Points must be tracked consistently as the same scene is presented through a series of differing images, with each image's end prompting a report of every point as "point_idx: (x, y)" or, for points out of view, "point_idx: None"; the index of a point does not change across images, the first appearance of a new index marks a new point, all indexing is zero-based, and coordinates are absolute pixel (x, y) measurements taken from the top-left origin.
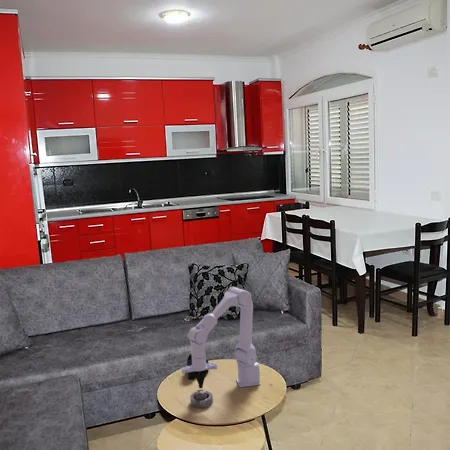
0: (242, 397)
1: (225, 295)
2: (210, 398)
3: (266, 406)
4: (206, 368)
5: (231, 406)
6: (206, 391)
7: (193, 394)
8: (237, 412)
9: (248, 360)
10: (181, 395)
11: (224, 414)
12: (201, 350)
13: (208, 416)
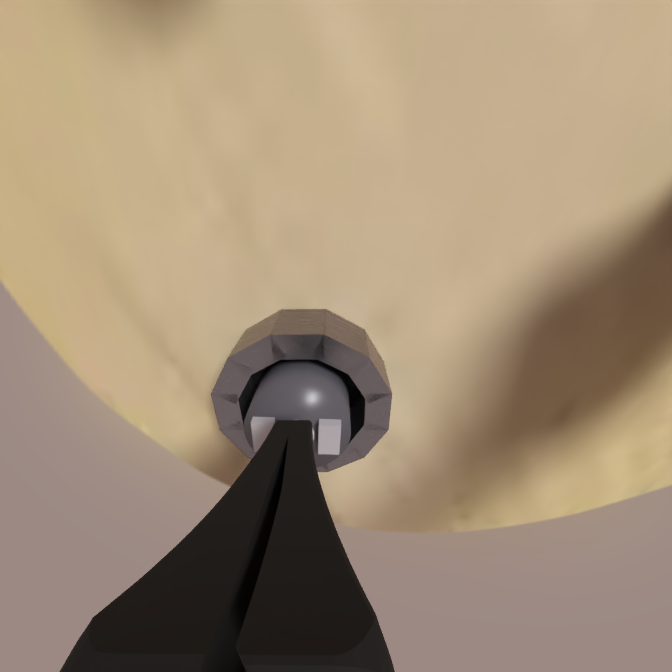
0: (591, 382)
1: None
2: (365, 454)
3: (643, 486)
4: None
5: (474, 450)
6: (348, 428)
7: (237, 376)
8: (478, 496)
9: None
10: (139, 229)
11: (410, 497)
12: None
13: (329, 494)
